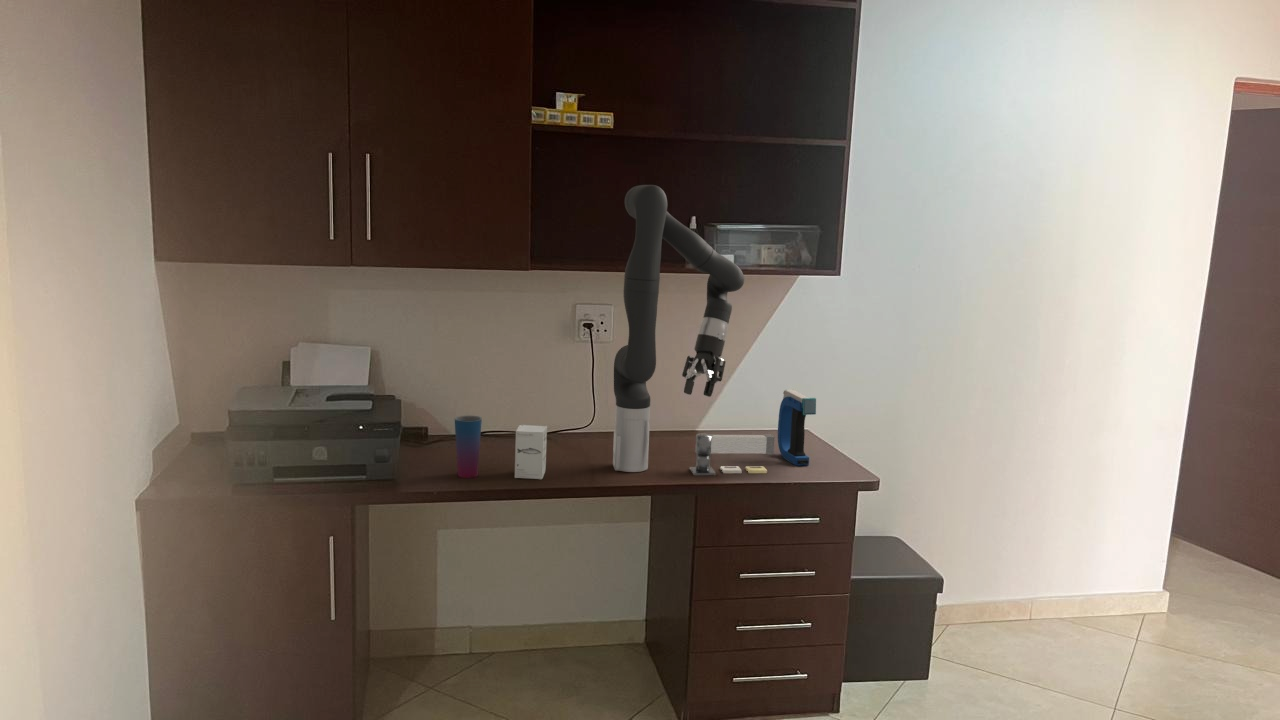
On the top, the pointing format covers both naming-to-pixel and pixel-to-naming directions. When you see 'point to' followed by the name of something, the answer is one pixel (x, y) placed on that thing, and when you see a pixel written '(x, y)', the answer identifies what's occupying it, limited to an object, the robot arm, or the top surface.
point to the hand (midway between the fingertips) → (697, 394)
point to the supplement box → (530, 451)
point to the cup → (467, 444)
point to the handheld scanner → (794, 426)
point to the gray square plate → (702, 466)
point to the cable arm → (734, 444)
